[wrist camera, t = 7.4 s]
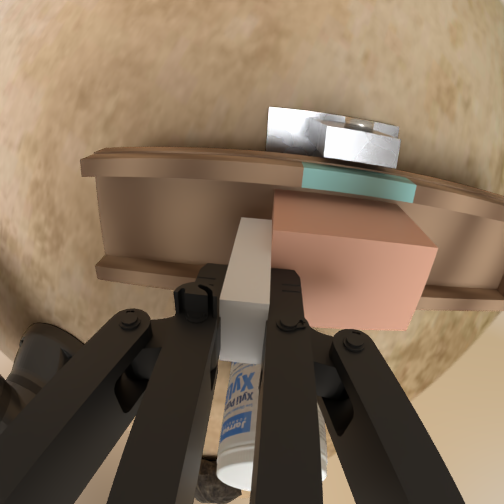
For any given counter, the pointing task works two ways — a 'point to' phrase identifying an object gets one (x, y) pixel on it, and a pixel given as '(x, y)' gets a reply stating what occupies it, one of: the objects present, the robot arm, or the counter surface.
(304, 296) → the block
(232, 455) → the supplement tub
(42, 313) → the counter surface
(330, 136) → the stand
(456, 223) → the beam
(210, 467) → the rock
